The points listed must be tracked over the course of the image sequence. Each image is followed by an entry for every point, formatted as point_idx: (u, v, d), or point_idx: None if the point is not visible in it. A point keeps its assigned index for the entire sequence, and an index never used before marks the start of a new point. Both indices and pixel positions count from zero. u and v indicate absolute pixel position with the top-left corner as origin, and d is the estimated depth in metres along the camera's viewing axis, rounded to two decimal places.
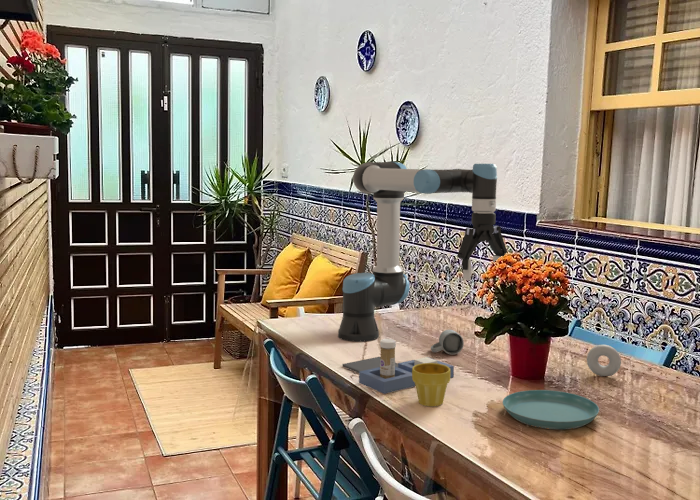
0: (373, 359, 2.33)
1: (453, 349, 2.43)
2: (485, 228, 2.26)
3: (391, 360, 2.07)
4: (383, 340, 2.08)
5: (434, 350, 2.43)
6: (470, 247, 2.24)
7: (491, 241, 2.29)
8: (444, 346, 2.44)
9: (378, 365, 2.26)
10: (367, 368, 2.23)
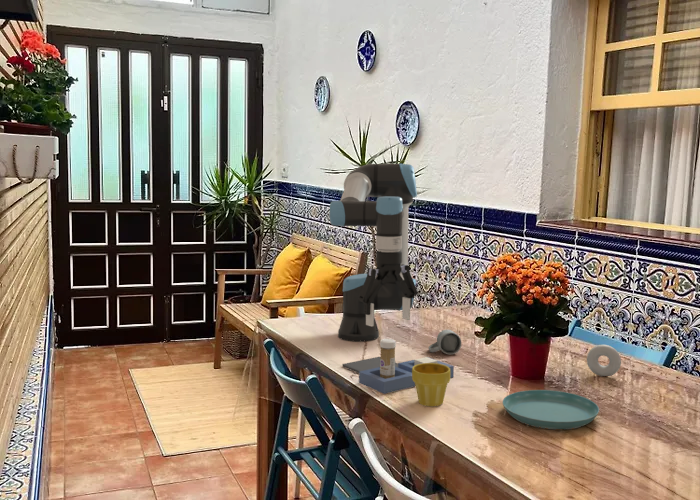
0: (373, 359, 2.33)
1: (451, 349, 2.43)
2: (390, 268, 2.04)
3: (391, 360, 2.07)
4: (383, 340, 2.08)
5: (432, 350, 2.43)
6: (373, 289, 2.02)
7: (398, 282, 2.07)
8: (442, 346, 2.44)
9: (378, 365, 2.26)
10: (367, 368, 2.23)
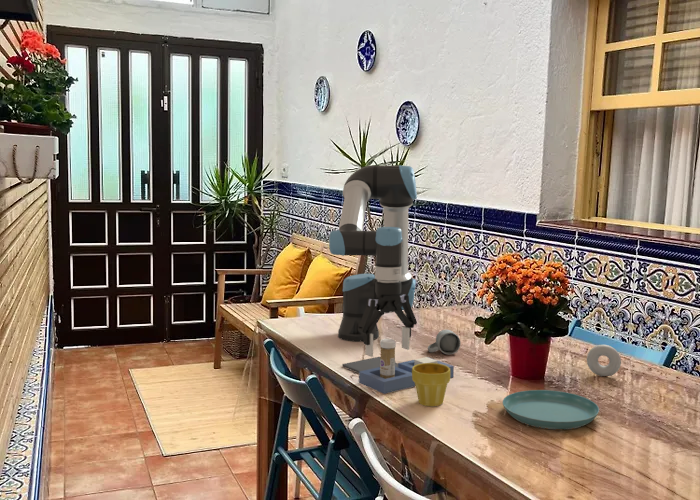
0: (373, 359, 2.33)
1: (450, 349, 2.43)
2: (390, 298, 2.05)
3: (391, 360, 2.07)
4: (383, 340, 2.08)
5: (431, 350, 2.43)
6: (372, 320, 2.03)
7: (398, 312, 2.08)
8: (441, 346, 2.44)
9: (378, 365, 2.26)
10: (367, 368, 2.23)
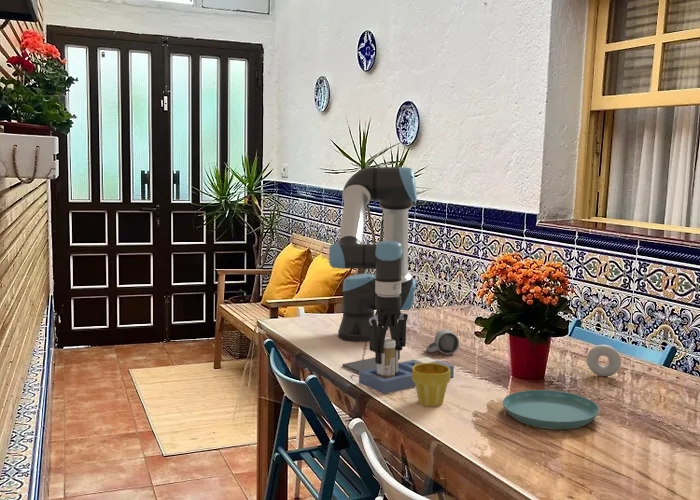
0: (373, 359, 2.33)
1: (448, 349, 2.43)
2: (390, 312, 2.06)
3: (391, 360, 2.07)
4: None
5: (429, 350, 2.43)
6: (379, 338, 2.06)
7: (393, 328, 2.08)
8: (439, 346, 2.44)
9: None
10: (367, 368, 2.23)
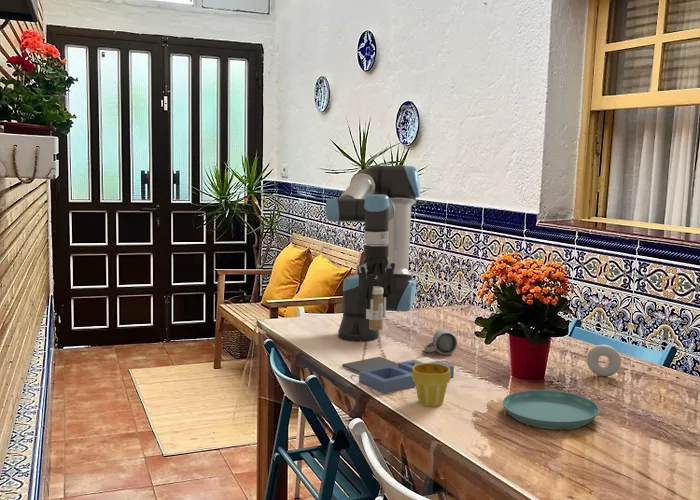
0: (373, 359, 2.33)
1: (447, 349, 2.43)
2: (378, 261, 2.20)
3: (380, 305, 2.21)
4: None
5: (428, 350, 2.43)
6: (368, 285, 2.20)
7: (381, 276, 2.22)
8: (438, 346, 2.43)
9: (378, 365, 2.26)
10: (367, 368, 2.23)
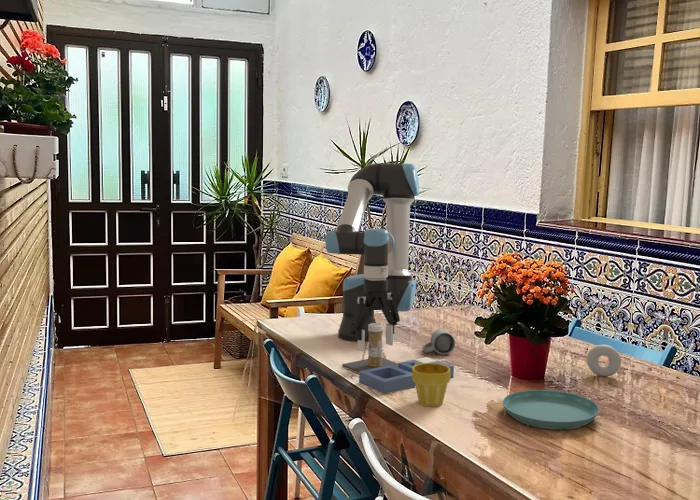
0: None
1: (444, 349, 2.43)
2: (377, 295, 2.22)
3: (379, 342, 2.23)
4: (371, 324, 2.24)
5: (425, 350, 2.43)
6: (363, 316, 2.20)
7: (383, 308, 2.24)
8: (436, 346, 2.43)
9: None
10: (367, 368, 2.23)
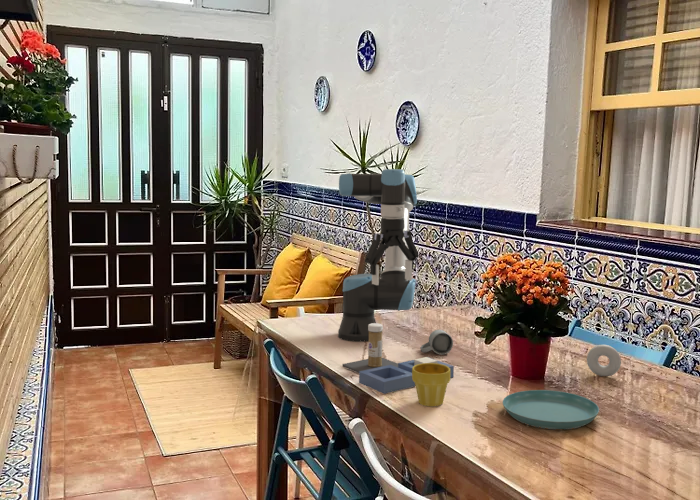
0: None
1: (442, 349, 2.43)
2: (394, 233, 2.29)
3: (379, 342, 2.23)
4: (371, 324, 2.24)
5: (423, 350, 2.43)
6: (378, 252, 2.27)
7: (401, 246, 2.31)
8: (434, 346, 2.43)
9: None
10: (367, 368, 2.23)
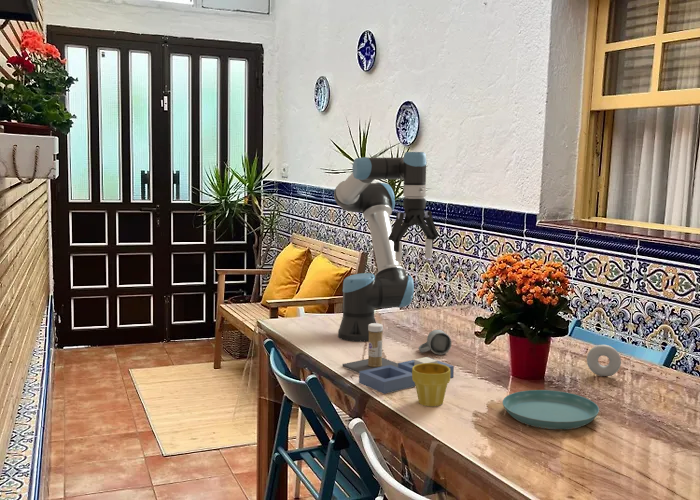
0: None
1: (441, 349, 2.43)
2: (416, 213, 2.40)
3: (379, 342, 2.23)
4: (371, 324, 2.24)
5: (422, 350, 2.43)
6: (401, 230, 2.39)
7: (422, 225, 2.43)
8: (432, 346, 2.43)
9: None
10: (367, 368, 2.23)
